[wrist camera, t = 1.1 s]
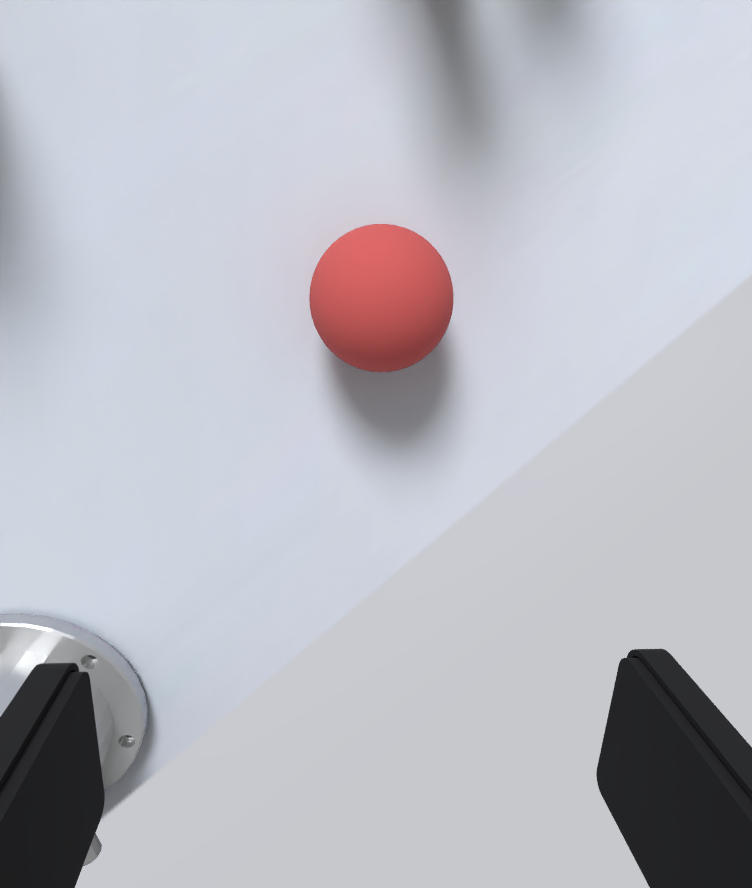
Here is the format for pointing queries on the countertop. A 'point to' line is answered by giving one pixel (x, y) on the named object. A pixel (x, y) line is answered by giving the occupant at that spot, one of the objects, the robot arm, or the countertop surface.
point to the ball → (381, 298)
